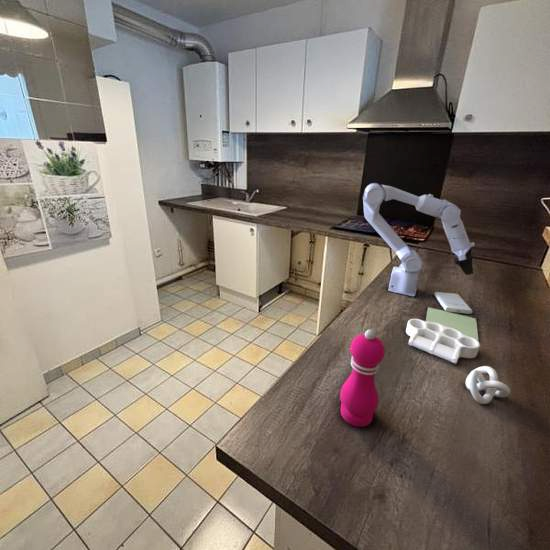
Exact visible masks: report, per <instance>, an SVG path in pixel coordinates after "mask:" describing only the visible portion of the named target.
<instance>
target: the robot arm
mask: <svg viewBox="0 0 550 550" xmlns="http://www.w3.org/2000/svg"><path fill="white" fill-rule="evenodd" d="M391 200H395V201H399V202H402V203H406V204H407V205H408V204H409V205H410V206H411V205H412V206H414V208H415V210H416V211H417V212H420V213H423V214H425V215H428V216H431V217H435V218H436V217H437V218H439V219H440V221H441V223H442V228H443V230H444V233H445V236H446V238H447V241H448V243H449V246H450V251H451V252H452V253H453V254H454V255H455V256H457V257H454V258H453V262H454V263H455V264H456V265H457V266H458V267H459V268H460V269H461V270H462V272H463V273H464V274H465V276H469V275H473V274H474V268H473V259H474V255H473V254H472V249H473V247H475V246H476V244H475V242H474V241H472V242H470V239H469V237H468V233H467V231H466V229H465V224H464V222H463V220H462V219H461V213H462V210H461V209H460V208H459V207H458V206H457V205H456V204H454V203H452V202H451V201H448V200H446V199H439V198H437V197H434V195H433V194H431V193H428V194H423V195H422V194H421V195H420V196H418V195H415V194H412V193H411V192H407V191H405V190H402V189H399V188H397V187H394V186H391V185H386V184H379V183H377V182H372V183H369V184H368V185H367V186H366V187H365V189H364V192H363V195H362V203H363V216H364V218H365V220H366V221H367V223H368V224H369V225H371V227H372V228H373V229H374V230H375V231H376V233H377V234H378V235H379V236H380V237H381V238H382V239H383V240H384V242H386V244H387V245H388V246H389V248H391V250H392V251H393V252H395V255H397V257H398V258H399V260H400V261H401V263H400V264H399V266H393V267H392V270H391V274H390V279H389V281H388V283H389V284H388V289H387V291H388V292H392V293H397V294H399V295H404V296H410V297H415V296H416V293H417V290H418V288H417V285H418V281H419V276H420V272H421V269H422V268H423V267H424V266H423V265H424V262H423V260H422V258H421V257H420V256H419V253H418V252H417V250H416V249H413V248H411V247H410V246H408V245H407V243H405V242H404V240H403V239H402V238H401V237H400V236H399V235H398V233H397V232H396V231H395V230H394V229H393V227H391V225H390V224H389V223H388V221H386V220H385V218H384V217H383V216H382V215H381V214H380V213H379V212H380V207H381V204H382V203H383V201H384V202H388V201H391Z"/></svg>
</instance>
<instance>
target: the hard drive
mask: <svg viewBox="0 0 550 550" xmlns="http://www.w3.org/2000/svg"><path fill="white" fill-rule="evenodd" d="M433 295H434V297H435V299H436V300H437V301H438V303H439V304H440V306H441V307H442V308H443V311H446V312H450V313H455V314H466V315H470V314H471V315H472V314H473V310H472V308H471V307H470V306H469V305H468V303H467V302H466V301H465V300H464V299H463V298H462V297H461V296H460V294H458V293H451V292H442V291H441V292H440V291H434V294H433Z"/></svg>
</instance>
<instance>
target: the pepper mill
mask: <svg viewBox="0 0 550 550" xmlns="http://www.w3.org/2000/svg"><path fill="white" fill-rule="evenodd" d="M349 346H350V347H349V351H350V355H351V360H350V366H351V368H352V370H351V373H350V375H349V376H348V378H347V379H346V380H345V382H344V383H343V384H342V386H341V389H340V393H339V398H340V402H341V405H340V415H341V416H342V418H343V420H344V421H345V422H346V423H348V424H349V425H350V426H354V427H359V428H360V427H361V428H362V427H367V426H368V425H370V424H371V423H372V421H373V417H374V412H376V411H377V409H378V406H379V394H378V389H377V387H376V384H375V377H376V376H375V375H376V374H377V373H378V372H379V370H380V363H381V362H382V361H383V360H384V358H385V355H386V348H385V345H384V342H383V341H382V340H381V339H380V338H379V337H378V336H376V333H375V331H374V330H373V329H367V330H365V332H364V333H361V334H358V335H356V336H355V337H354V338H353V339H352V341H351V343H350V345H349Z"/></svg>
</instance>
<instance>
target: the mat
mask: <svg viewBox="0 0 550 550" xmlns="http://www.w3.org/2000/svg"><path fill="white" fill-rule="evenodd" d="M425 321H426V322H435V323H439V324H441V325H443V326H446V327H449V328H453V329H455V330H458V331H459V332H461V333H462V334H464V335H466V336H468V337H472V338H474V339H476V340H477V341H478V342H479V335H478V334H479V333H478V324H477V318H476V317H471V316H467V315H462V314H460V313H456V312H447V311H445V310H442V309H437V308H433V307H429V306H428V307H427V311H426V316H425Z"/></svg>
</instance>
